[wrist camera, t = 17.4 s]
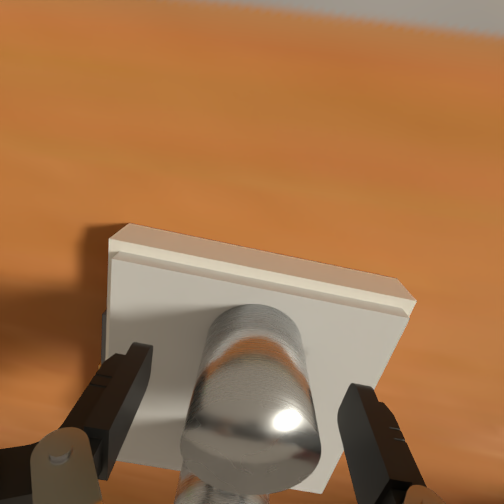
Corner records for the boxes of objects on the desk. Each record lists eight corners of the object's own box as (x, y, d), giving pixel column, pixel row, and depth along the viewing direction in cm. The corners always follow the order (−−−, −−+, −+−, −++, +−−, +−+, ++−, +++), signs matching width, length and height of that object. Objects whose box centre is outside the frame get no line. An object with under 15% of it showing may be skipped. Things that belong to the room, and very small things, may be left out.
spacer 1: (313, 314, 13) (341, 415, 9) (287, 387, 15) (299, 504, 10) (215, 294, 13) (189, 387, 8) (200, 371, 15) (172, 482, 10)
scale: (397, 278, 16) (425, 311, 13) (318, 451, 21) (327, 500, 19) (118, 220, 15) (86, 242, 12) (110, 415, 20) (86, 461, 18)
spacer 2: (276, 424, 16) (285, 546, 11) (255, 474, 18) (256, 597, 13) (194, 409, 16) (170, 528, 11) (181, 462, 17) (155, 584, 13)
